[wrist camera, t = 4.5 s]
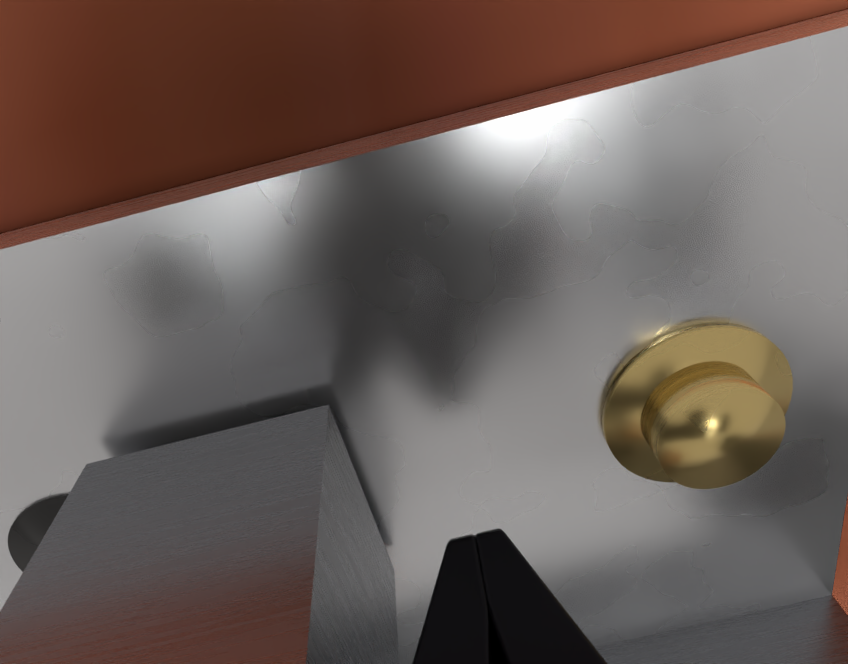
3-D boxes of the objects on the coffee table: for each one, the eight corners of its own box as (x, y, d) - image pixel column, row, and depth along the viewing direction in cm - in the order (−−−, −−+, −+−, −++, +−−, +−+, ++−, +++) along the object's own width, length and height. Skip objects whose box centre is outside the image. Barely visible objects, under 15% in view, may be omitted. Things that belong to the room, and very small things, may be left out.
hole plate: (866, 4, 9) (1130, 12, 6) (799, 590, 15) (906, 738, 12) (-313, 316, 9) (-627, 468, 6) (103, 746, 16) (42, 921, 13)
